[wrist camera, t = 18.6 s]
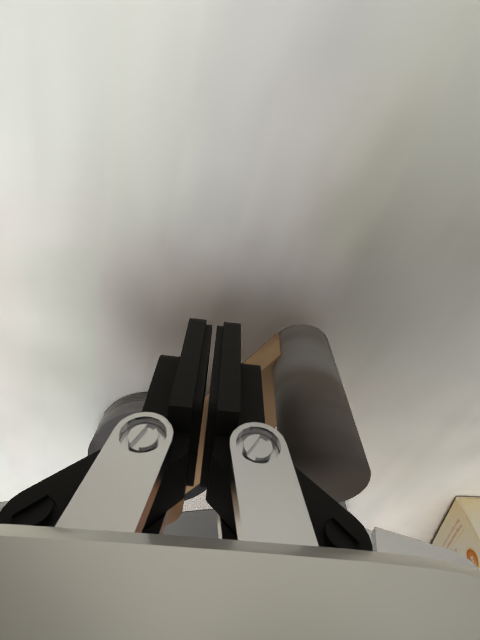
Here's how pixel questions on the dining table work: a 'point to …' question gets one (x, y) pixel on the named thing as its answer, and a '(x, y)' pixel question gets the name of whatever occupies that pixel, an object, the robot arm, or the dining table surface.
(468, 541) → the coffeecake box
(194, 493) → the crank base
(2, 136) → the dining table surface
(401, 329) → the dining table surface
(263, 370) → the crank
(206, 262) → the dining table surface
